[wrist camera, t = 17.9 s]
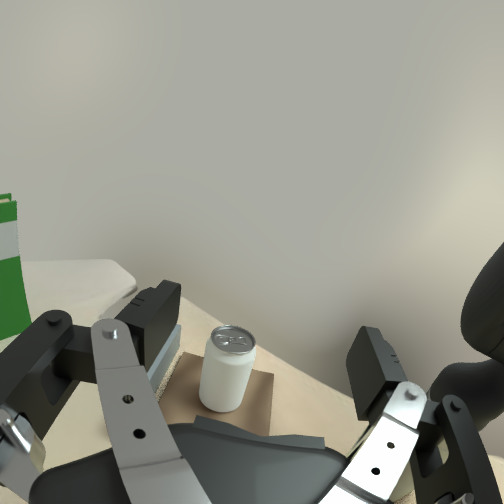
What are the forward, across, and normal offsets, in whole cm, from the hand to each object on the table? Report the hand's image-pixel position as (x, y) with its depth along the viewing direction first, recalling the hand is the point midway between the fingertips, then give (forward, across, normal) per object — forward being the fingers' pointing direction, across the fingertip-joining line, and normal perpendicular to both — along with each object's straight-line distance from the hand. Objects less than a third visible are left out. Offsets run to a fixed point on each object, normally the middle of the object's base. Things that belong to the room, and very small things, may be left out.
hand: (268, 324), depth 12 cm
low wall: (+17, +12, +28) cm, 35 cm away
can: (+18, +2, +27) cm, 33 cm away
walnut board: (+18, +2, +28) cm, 33 cm away
